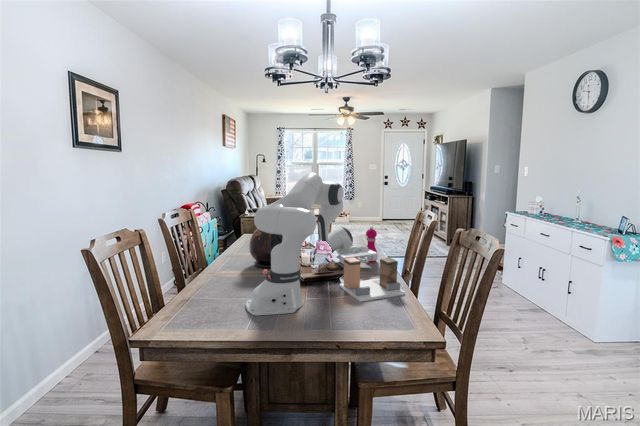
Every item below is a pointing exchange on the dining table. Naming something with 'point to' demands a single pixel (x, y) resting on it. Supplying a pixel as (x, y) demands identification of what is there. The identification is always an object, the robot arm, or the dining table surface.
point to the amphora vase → (263, 247)
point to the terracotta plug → (352, 272)
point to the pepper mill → (371, 240)
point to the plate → (373, 290)
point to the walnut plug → (388, 271)
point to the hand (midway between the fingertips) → (365, 261)
